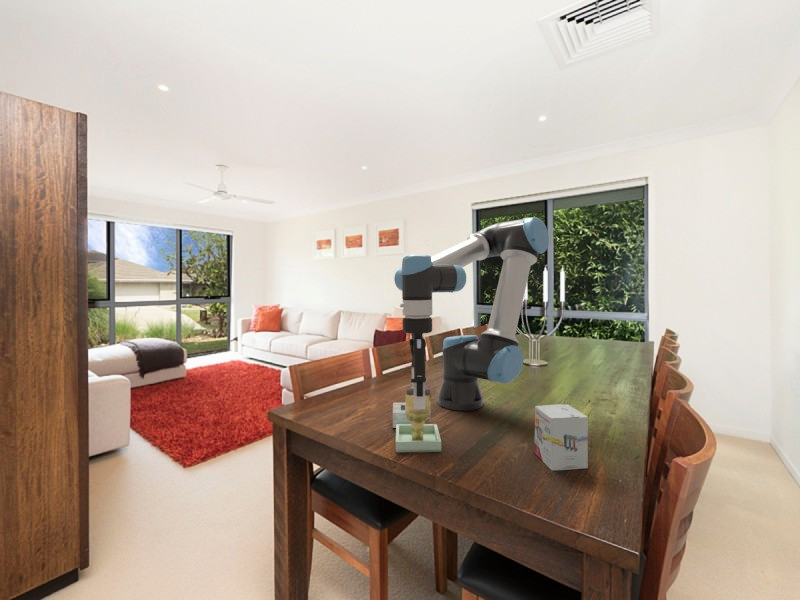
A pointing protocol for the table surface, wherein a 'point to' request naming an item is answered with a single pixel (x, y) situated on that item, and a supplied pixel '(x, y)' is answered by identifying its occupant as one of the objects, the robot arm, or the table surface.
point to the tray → (406, 443)
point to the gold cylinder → (417, 413)
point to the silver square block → (399, 414)
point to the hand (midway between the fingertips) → (418, 399)
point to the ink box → (561, 437)
